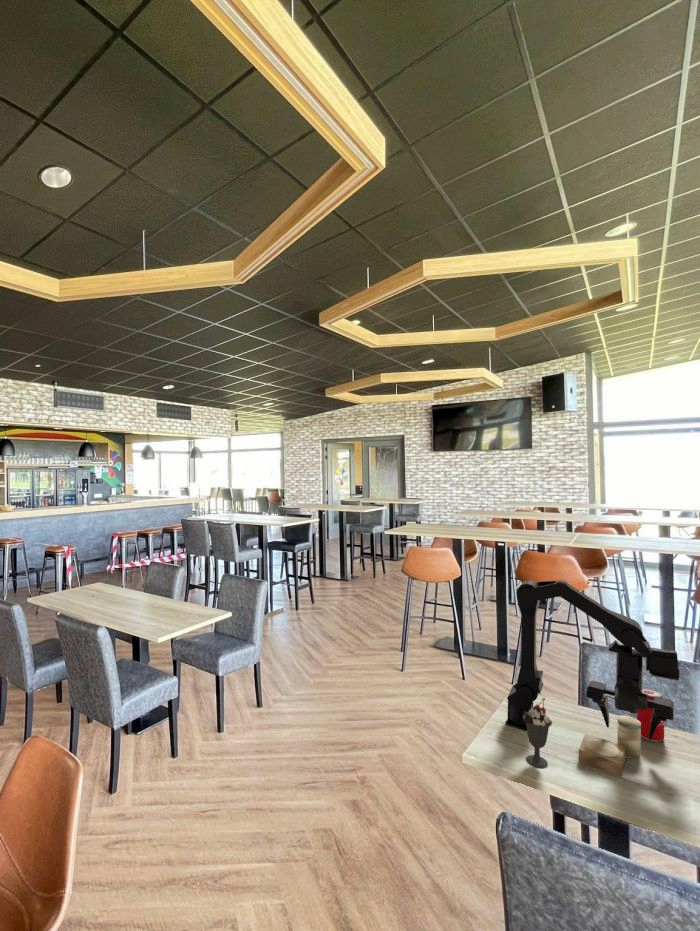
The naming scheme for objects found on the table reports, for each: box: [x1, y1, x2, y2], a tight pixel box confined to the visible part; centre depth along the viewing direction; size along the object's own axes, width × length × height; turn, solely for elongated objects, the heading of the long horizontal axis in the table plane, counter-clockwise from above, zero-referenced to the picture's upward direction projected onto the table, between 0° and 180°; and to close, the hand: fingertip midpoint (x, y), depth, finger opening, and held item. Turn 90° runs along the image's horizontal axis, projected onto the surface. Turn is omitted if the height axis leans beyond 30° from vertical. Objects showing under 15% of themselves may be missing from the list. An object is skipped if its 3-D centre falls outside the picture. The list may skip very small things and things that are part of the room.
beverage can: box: [636, 687, 665, 743], centre depth 126 cm, size 6×6×12 cm
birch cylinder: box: [616, 715, 642, 759], centre depth 118 cm, size 5×5×8 cm
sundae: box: [523, 697, 553, 769], centre depth 113 cm, size 7×7×15 cm
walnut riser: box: [578, 733, 626, 778], centre depth 115 cm, size 9×9×3 cm
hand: (628, 733), depth 118 cm, fingers open, 9 cm apart
